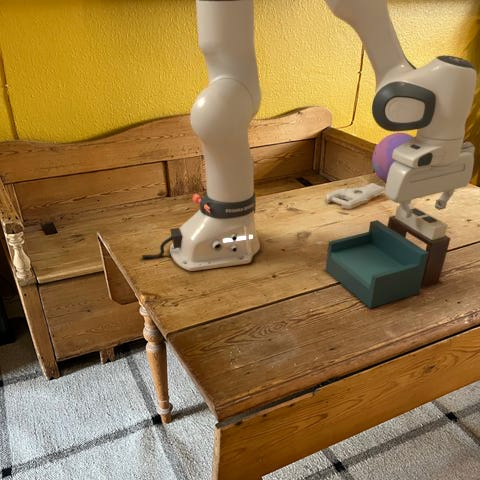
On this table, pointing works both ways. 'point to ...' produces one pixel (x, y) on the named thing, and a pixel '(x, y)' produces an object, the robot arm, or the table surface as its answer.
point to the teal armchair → (377, 265)
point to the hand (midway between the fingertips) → (423, 212)
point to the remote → (423, 223)
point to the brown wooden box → (434, 247)
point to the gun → (355, 195)
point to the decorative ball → (387, 153)
